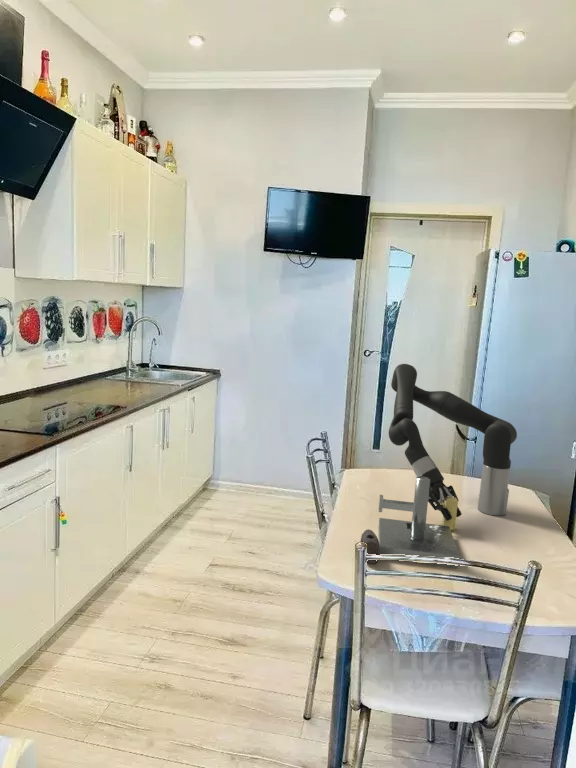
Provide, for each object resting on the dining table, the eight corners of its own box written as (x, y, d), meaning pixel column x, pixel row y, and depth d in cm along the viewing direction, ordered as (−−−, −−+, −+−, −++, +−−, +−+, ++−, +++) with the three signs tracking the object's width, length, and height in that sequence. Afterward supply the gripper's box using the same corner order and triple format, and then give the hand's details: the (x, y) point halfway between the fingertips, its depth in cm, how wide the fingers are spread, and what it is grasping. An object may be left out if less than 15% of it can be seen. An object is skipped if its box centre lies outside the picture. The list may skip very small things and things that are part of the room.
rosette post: (447, 536, 175) (455, 470, 172) (458, 568, 153) (467, 492, 150) (375, 527, 178) (381, 462, 175) (375, 557, 157) (382, 483, 154)
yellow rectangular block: (453, 526, 183) (456, 497, 182) (454, 530, 180) (458, 501, 178) (442, 525, 184) (445, 496, 182) (443, 529, 180) (446, 500, 179)
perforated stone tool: (358, 543, 166) (359, 521, 165) (375, 545, 165) (377, 523, 164) (360, 566, 151) (362, 542, 150) (379, 568, 150) (382, 544, 150)
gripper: (432, 474, 194) (458, 518, 187) (407, 481, 184) (434, 527, 177) (446, 464, 189) (474, 508, 182) (422, 470, 180) (450, 517, 173)
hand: (454, 517), depth 180 cm, fingers closed on yellow rectangular block, 5 cm apart
